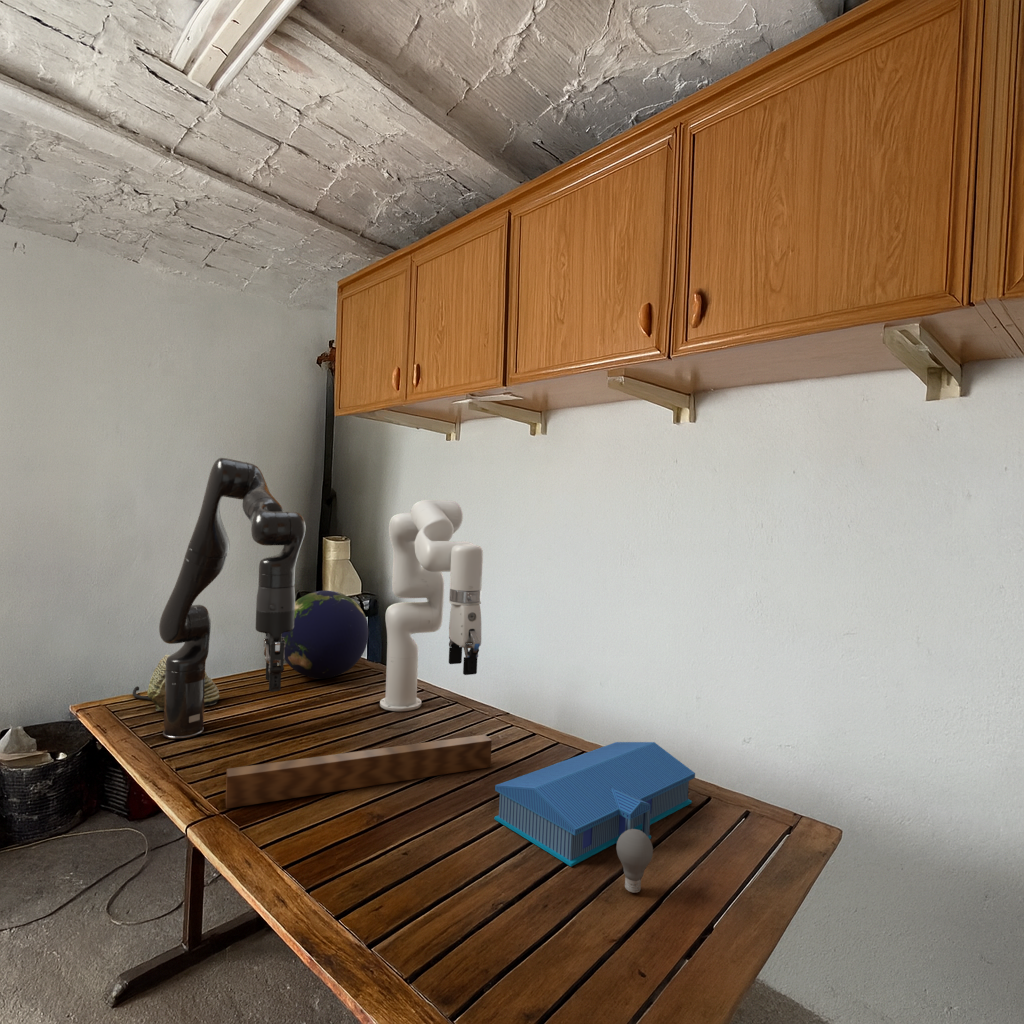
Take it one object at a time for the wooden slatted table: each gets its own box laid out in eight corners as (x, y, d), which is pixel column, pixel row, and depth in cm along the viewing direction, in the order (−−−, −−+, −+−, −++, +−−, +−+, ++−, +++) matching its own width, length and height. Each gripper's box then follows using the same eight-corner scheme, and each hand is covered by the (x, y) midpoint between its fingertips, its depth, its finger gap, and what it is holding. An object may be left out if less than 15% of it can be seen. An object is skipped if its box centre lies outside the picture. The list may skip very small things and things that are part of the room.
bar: (226, 808, 127) (227, 776, 127) (225, 799, 131) (226, 768, 131) (490, 767, 152) (491, 740, 152) (484, 760, 156) (485, 734, 156)
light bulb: (610, 879, 108) (613, 822, 108) (644, 879, 109) (647, 822, 109) (619, 902, 102) (622, 840, 102) (655, 901, 103) (658, 840, 103)
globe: (256, 681, 211) (260, 592, 211) (316, 661, 239) (319, 582, 238) (330, 695, 200) (333, 601, 199) (383, 673, 228) (386, 590, 227)
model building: (584, 875, 109) (587, 817, 109) (492, 818, 128) (494, 769, 127) (705, 808, 136) (707, 762, 136) (614, 769, 154) (616, 728, 154)
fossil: (144, 707, 182) (145, 655, 182) (212, 696, 194) (213, 647, 194) (151, 716, 175) (153, 662, 175) (221, 703, 188) (223, 653, 188)
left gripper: (298, 613, 127) (295, 693, 127) (290, 601, 140) (288, 674, 140) (258, 614, 123) (255, 697, 124) (254, 602, 136) (251, 677, 137)
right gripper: (494, 602, 143) (491, 677, 144) (466, 591, 159) (463, 658, 159) (463, 603, 140) (460, 680, 141) (438, 591, 156) (435, 660, 156)
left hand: (272, 685), depth 132 cm, fingers open, 8 cm apart
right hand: (462, 668), depth 150 cm, fingers open, 9 cm apart
